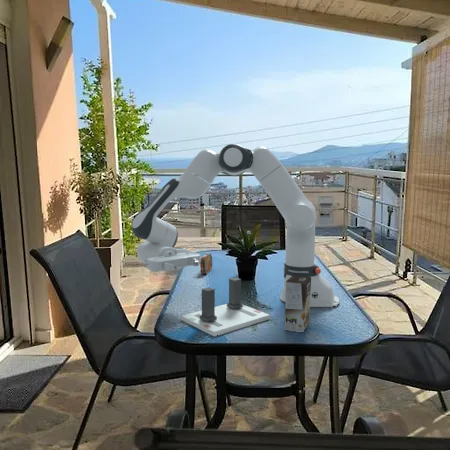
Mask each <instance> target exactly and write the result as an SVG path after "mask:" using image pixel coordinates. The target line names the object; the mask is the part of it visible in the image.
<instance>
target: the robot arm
mask: <svg viewBox="0 0 450 450" xmlns="http://www.w3.org/2000/svg"><path fill="white" fill-rule="evenodd" d="M245 172H249V173H251V174H252V175H253V176H254V178H255V179H256V180H257V181H258V182H259V184H260V186H261V187H262V188H263V189H264V191H265V192H266V194H267V195H268V196H269V198H270V199H271V200H272V202H273V203H274V206H276V207H275V208H277V210H278V212H279V213H280V215H281V216H282V218H283V219H284V220H285V222H286V235H285V237H286V238H285V255H284V257H285V258H284V260H285V261H284V263H283V285H282V289H281V294H280V296H279V298H280V300H281V301H282V302H284V303H285V299H286V281H287V280H288V279H289V278H291V277H292V276H293V275H294V276H306V277H311V295H310V308H334V307H333V306H336V307H338V306H339V305H340V299H339V297H338V296H337V295H336V294H335V293H334V292H335V291H334V289H333V286H332V284H331V283H330V281H328V280H327V279H325V278H324V277H323V276H322V275H320V274H321V273H322V270H321V268H320V266H319V265H317V264H315V254H316V251H315V250H316V220H317V213H316V210H317V209H316V207H315V205H314V204H313V203H312V201H310V200H309V199H308V198H307V197H306V194H304V192H303V191H302V189H301V188H300V186H299V185H298V183H297V182H296V181H295V179H294V178H293V176H292V175H291V174H290V172H289V171H288V170H287V168H286V167H285V166H284V165H283V163H282V162H281V160H279V158H278V157H277V156H276V155H275V154H274V153H273V152H272V151H271V150H270V149H269V148H268V147H266V146H258V147H256V148H254V149H250V148H247V147H245V146H243V145H241V144H237V143H230V144H227V145H225V146H224V147H222V149H221V150H220V152H215V151H214V150H211V149H203V150H200V151H199V152H198V153H197V154H196V155H195V157H193V159H192V161H191V162H190V163H189V164H188V166H187V167H186V169H185V171H184V172H183V173H182V174H181V175H179V176H178V177H177V178H171V179H170V180H169V181H167V182H166V183H165V184H164V185H163V187H162V188H161V189H160V190H159V191H158V192H157V193H156V194H155V196H154V197H152V199H151V201H150V202H148V204H147V205H146V206H145V207H144V208H143V209H142V210H141V211H140V212H139V213H137V214H136V215H135V217H134V218H133V219H132V222H131V229H132V232H133V234H134V237H136V238H139V239H142V240H145V241H144V242H142V243H140V244H139V245H138V246H137V248H136V254H137V258H138V260H140V262H142V263H141V264H142V265H143V266H146V269H147V270H149V271H150V272H152V273H153V272H154V273H155V272H169V271H175V270H177V269H181V268H187V267H199V266H200V262H201V258H202V256H201V254H200V253H198V252H195V251H192V250H187V248H186V247H176V244H177V242H178V237H179V232H178V229H177V227H176V226H175V225H173V224H171V223H169V222H168V221H165V220H163V219H161V218H160V217H158V215H159V214H160V213H161V212H162V210H163V209H164V208H165V207H166V206H167V205H168V203H169V202H170V201H172V200H174V199H179V198H182V199H190V200H191V199H198V198H200V197H202V196H204V195H205V194H206V193H207V191H208V190H209V188H210V187H211V185H212V183H213V182H214V180H215V179H216V177H217V176H218V175H219V174H223V175H228V176H232V177H237V176H240V175H243V174H244V173H245ZM338 304H339V305H338ZM337 305H338V306H337Z"/></svg>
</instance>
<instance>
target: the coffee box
mask: <svg viewBox="0 0 450 450" xmlns="http://www.w3.org/2000/svg"><path fill="white" fill-rule="evenodd" d="M310 295H311V277H306V276H294V275H293V276H292V277H291V278H289V279H288V280H287V281H286V299H285V302H284V304H285V306H284V331H286V330H290V331H289V332H293V331H298V332H297V333H299V331H300V332H305V331H306V330H305V329H307V328H308V327H309V325H310V316H311V307H310ZM308 324H309V325H308ZM307 326H308V327H307ZM306 327H307V328H306ZM304 330H305V331H304Z"/></svg>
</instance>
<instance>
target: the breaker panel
mask: <svg viewBox="0 0 450 450" xmlns="http://www.w3.org/2000/svg"><path fill="white" fill-rule="evenodd" d="M200 315H202V309H201V310H198V311H194V312H190V313H187V314H183V315H181V319H180V320H181V321H182V322H185V323H187V325H190V326H193V327H194V328H196V329H199V330H201V331H202V332H204V333H206V334H208V335H210V336H212V337H214V338H215V337H218V336H221V335H224V334H227V333H230V332H234V331H236V330H239V329H242V328H246V327H249V326H253V325H256V324H258V323H261V322H265V321H268V320H270V317H271V316H270V314H268V313H266V312H263V311H261V310H258V309H255V308H253V307H251V306H247V305H244V304H243V307H241V308H238V309H232V308H229V307H227V303H226V304H221V305H218V306H215V316H217V320H214V321H211V322H205V321H203V320H200ZM217 335H218V336H217Z"/></svg>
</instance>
